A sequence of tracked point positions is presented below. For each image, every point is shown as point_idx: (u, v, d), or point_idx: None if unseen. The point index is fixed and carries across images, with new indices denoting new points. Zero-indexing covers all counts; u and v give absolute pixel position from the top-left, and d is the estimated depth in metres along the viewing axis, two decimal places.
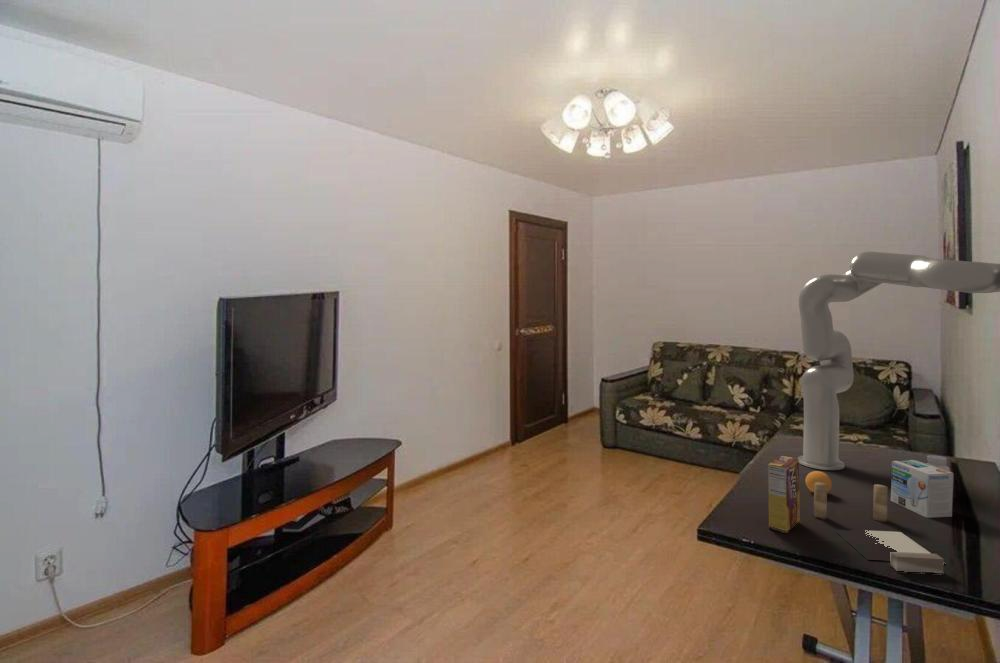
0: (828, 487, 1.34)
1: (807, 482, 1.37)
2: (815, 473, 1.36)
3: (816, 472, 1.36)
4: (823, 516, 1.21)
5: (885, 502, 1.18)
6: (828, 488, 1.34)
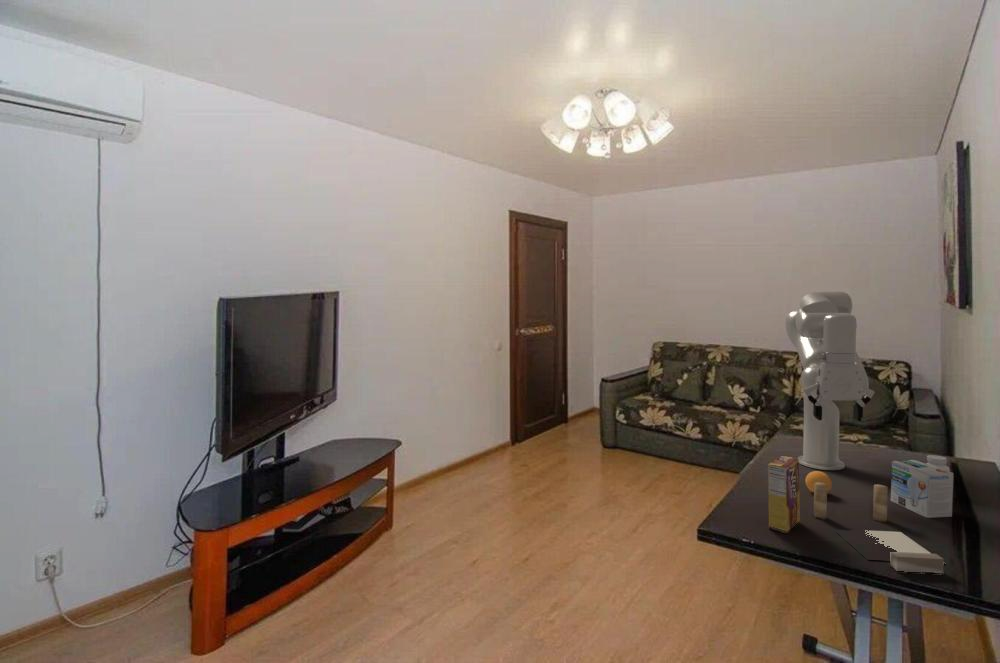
0: (828, 487, 1.34)
1: (807, 482, 1.37)
2: (815, 473, 1.36)
3: (816, 472, 1.36)
4: (823, 516, 1.21)
5: (885, 502, 1.18)
6: (828, 488, 1.34)
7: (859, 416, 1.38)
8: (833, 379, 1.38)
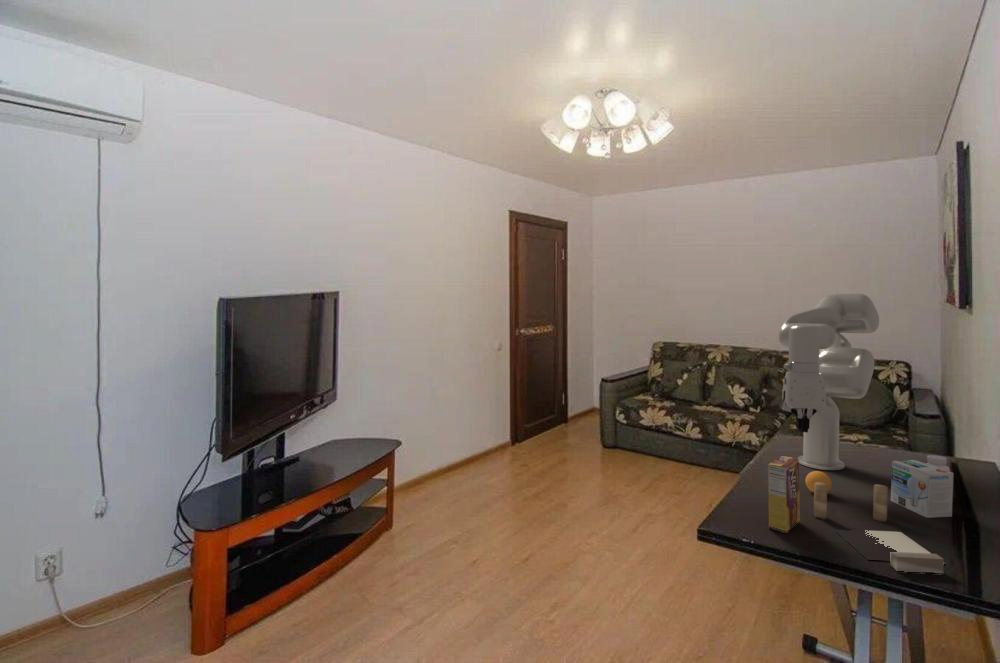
0: (828, 487, 1.34)
1: (807, 482, 1.37)
2: (815, 473, 1.36)
3: (816, 472, 1.36)
4: (823, 516, 1.21)
5: (885, 502, 1.18)
6: (828, 488, 1.34)
7: (806, 427, 1.44)
8: (799, 387, 1.43)
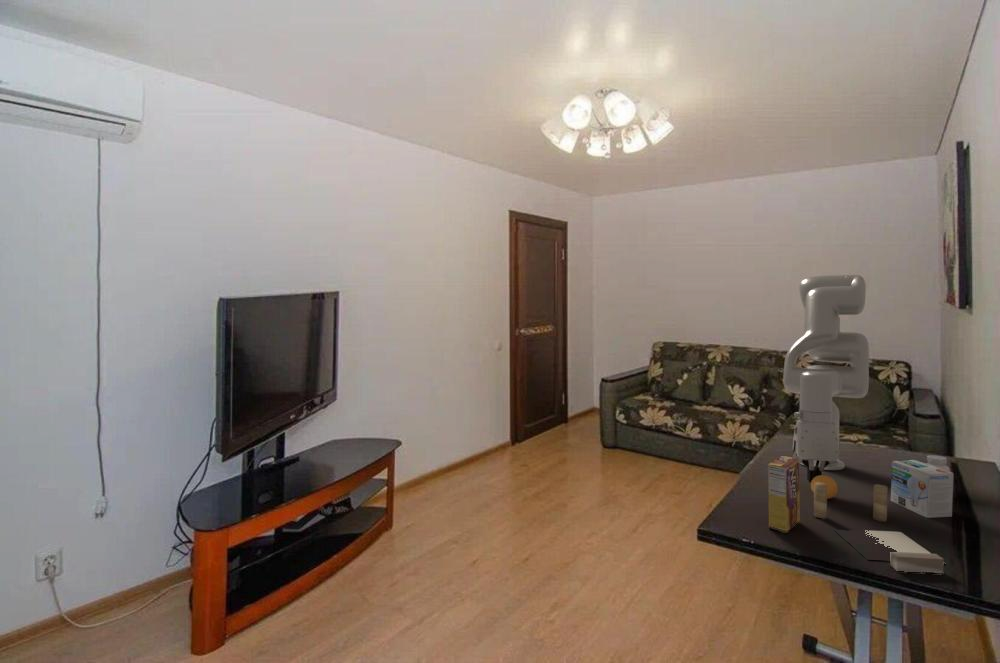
0: None
1: (812, 488, 1.33)
2: None
3: None
4: (823, 516, 1.21)
5: (885, 502, 1.18)
6: (831, 497, 1.32)
7: None
8: (810, 438, 1.35)
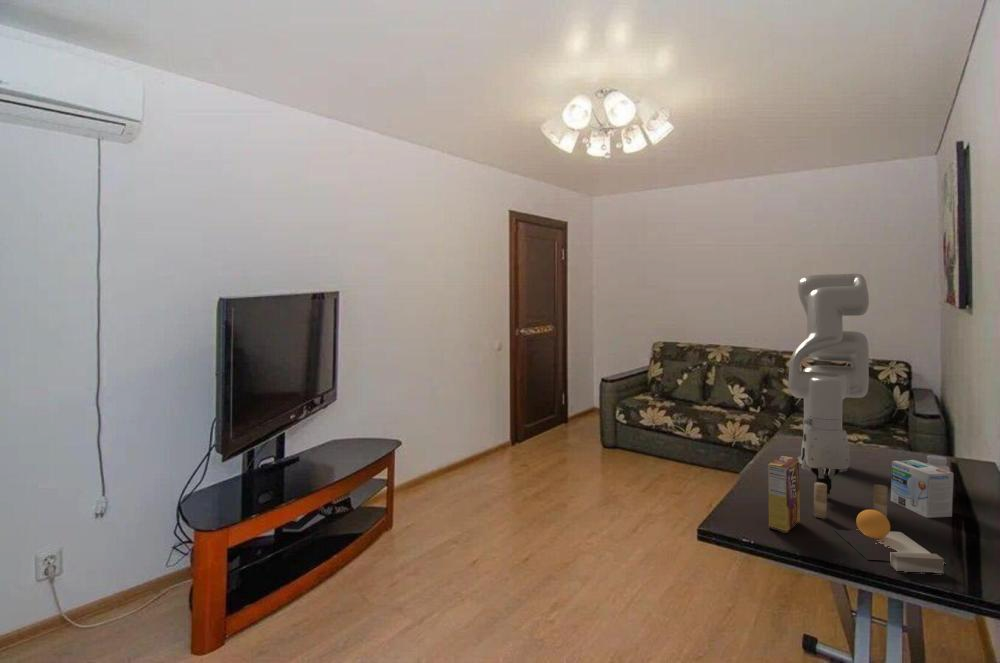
0: None
1: (857, 524, 1.12)
2: (871, 536, 1.09)
3: (874, 537, 1.09)
4: (823, 516, 1.21)
5: (885, 502, 1.18)
6: None
7: (828, 489, 1.32)
8: (820, 446, 1.31)
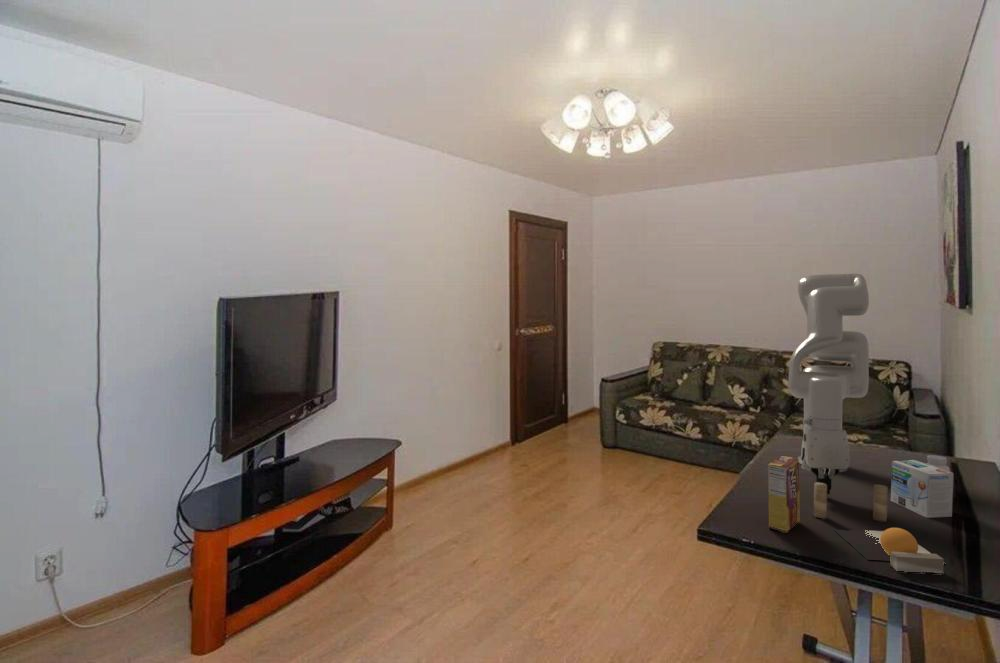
0: (912, 538, 1.00)
1: (883, 541, 1.02)
2: None
3: None
4: (823, 516, 1.21)
5: (885, 502, 1.18)
6: (912, 539, 1.00)
7: (828, 489, 1.32)
8: (820, 446, 1.31)
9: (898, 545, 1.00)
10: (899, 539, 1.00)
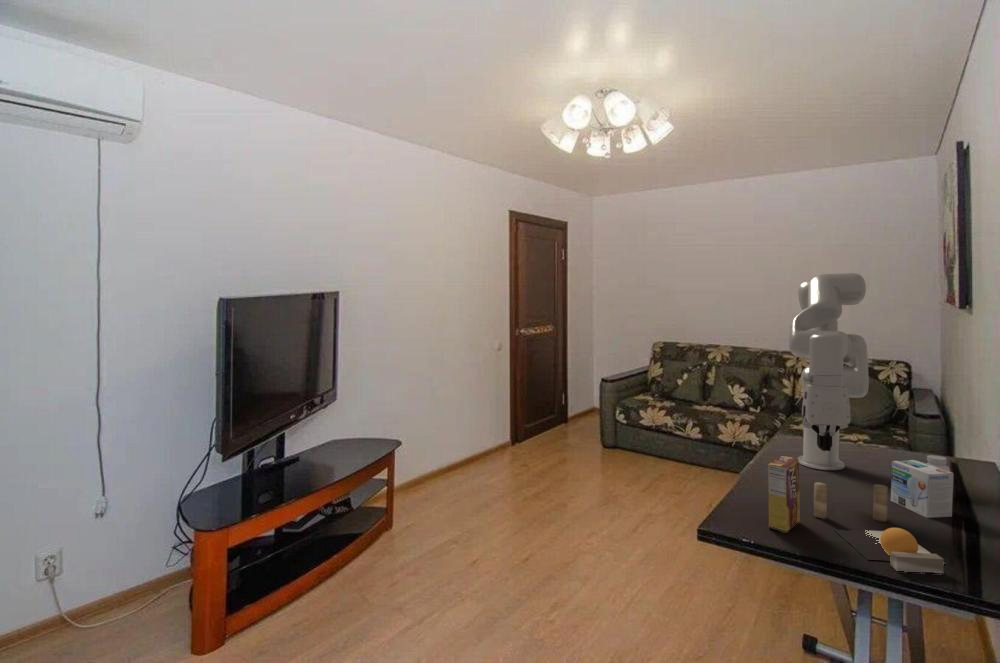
0: (912, 538, 1.00)
1: (883, 541, 1.02)
2: None
3: None
4: (823, 516, 1.21)
5: (885, 502, 1.18)
6: (912, 539, 1.00)
7: (828, 446, 1.32)
8: (820, 402, 1.30)
9: (898, 545, 1.00)
10: (899, 539, 1.00)
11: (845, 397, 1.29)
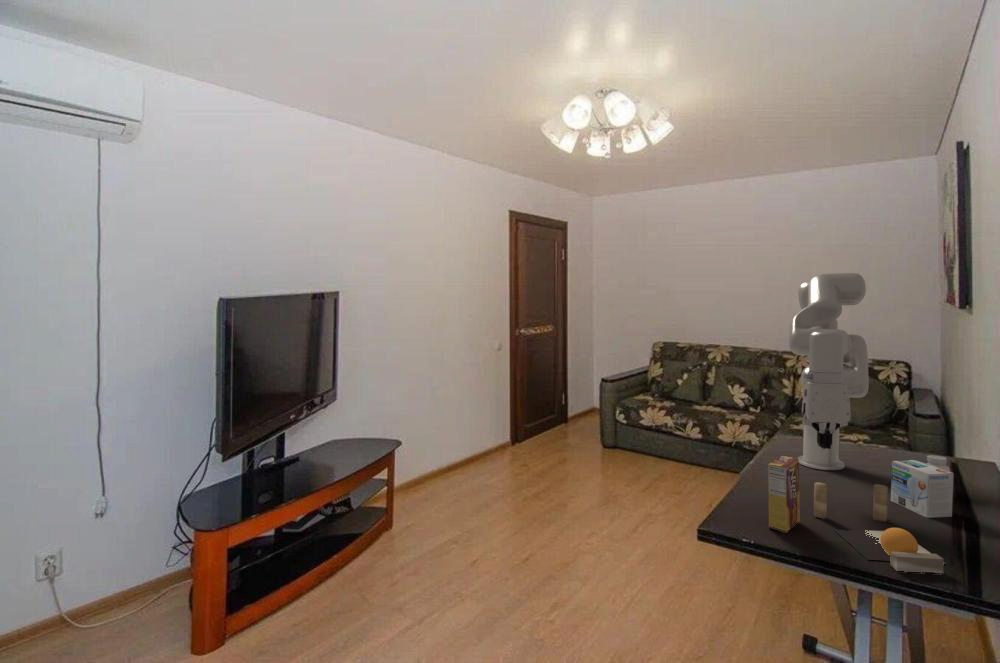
0: (912, 538, 1.00)
1: (883, 541, 1.02)
2: None
3: None
4: (823, 516, 1.21)
5: (885, 502, 1.18)
6: (912, 539, 1.00)
7: (828, 443, 1.31)
8: (821, 400, 1.30)
9: (898, 545, 1.00)
10: (899, 539, 1.00)
11: (845, 395, 1.29)
